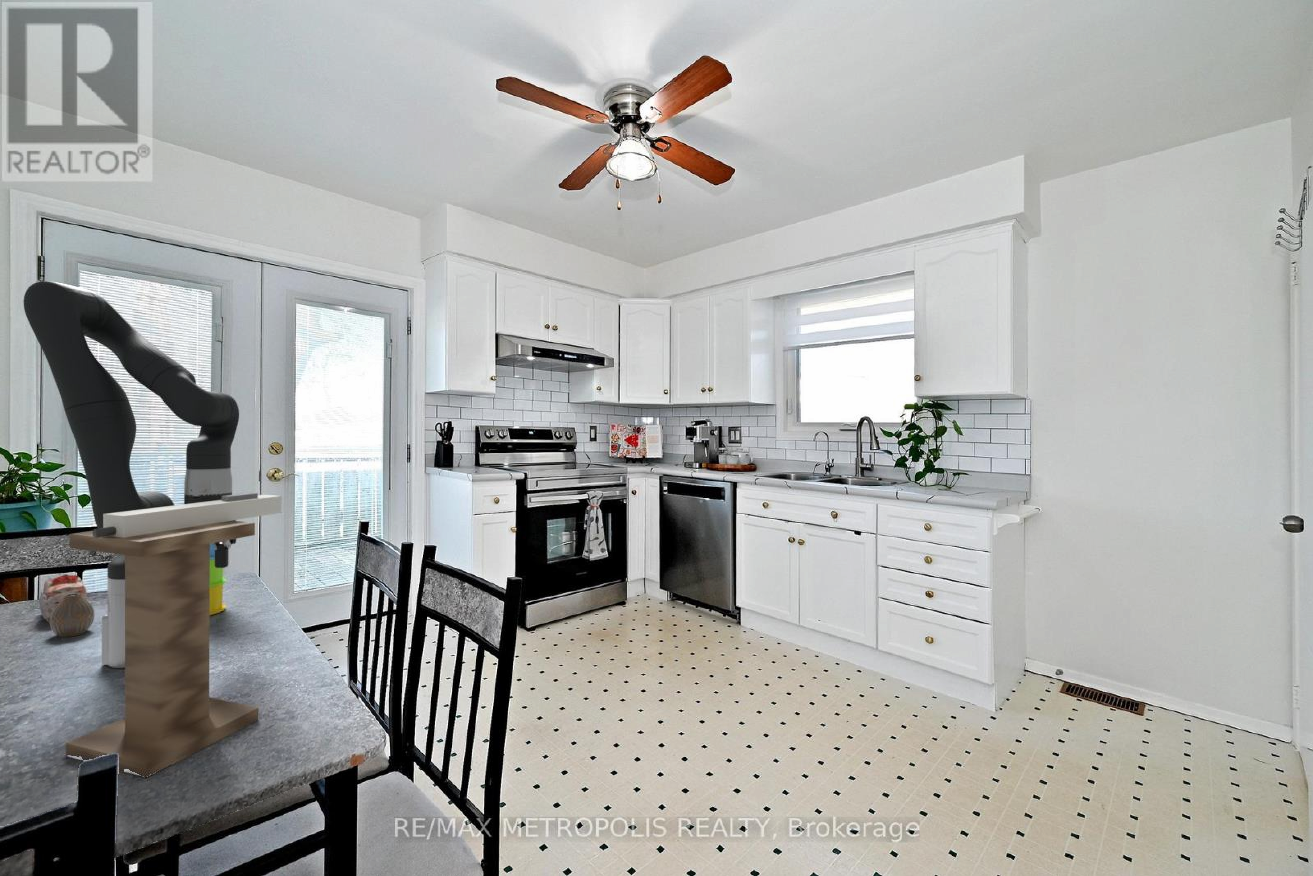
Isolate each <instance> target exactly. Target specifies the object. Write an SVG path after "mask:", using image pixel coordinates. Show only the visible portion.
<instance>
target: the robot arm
mask: <svg viewBox="0 0 1313 876" xmlns="http://www.w3.org/2000/svg"><path fill="white" fill-rule="evenodd" d="M22 303H23V310H24V313H25V317H26V318H27V321H28V323H29V326H30V329H32V332H33V334H34V336H35V337H36V340H37V342H38V344H39V346H40V348H41V350H42V352H43V355H44V356H45V359H46V361H47V363H48V366H49V369H50V371H51V374H52V377H53V379H54V382H55V384H56V385H55V386H56V388H57V390H58V392H59V393H58V394H59V395H60V398H61V402H62V406H63V409H64V413H65V416H66V419H67V422H68V424H69V427H70V430H71V432H72V435H73V438H74V440H75V445H76V447H77V450H78V453H79V457H80V460H81V463H82V467H83V470H84V474H85V477H86V481H87V486H88V493H89V497H90V502H91V508H92V509H91V510H92V513H93V517H94V522H95V525H96V527H97V529H99V528H103V514H108V513H117V512H125V511H133V510H141V509H150V508H158V507H166V506H175V503H174V501H173V500H172V499H171V498H170V497H169V496H168V495H167V494H165V493H163V492H159V491H145V492H144V491H143V492H142V491H141V492H138V491H137V489H136V486H135V484H134V481H133V477H132V472H131V468H130V467H131V466H130V463H131V456H132V452H133V448H134V445H135V441H136V435H137V423H136V418H135V415H134V411H133V408H132V406H131V403H130V400H129V397H128V395H127V393H126V392H125V390H124V389H123V387H122V385H120V383H119V382H118V381H117V380H116V379H115V378H114V377H113V375H112V374H111V373H110V372H109V371H108V370H107V369H106V368H105V367H104V366H103V365H102V364H101V362H100V361H98V359H97V358H96V357H95V355H94V354H93V352H92V350H91V348H90V347H89V344H88V343H87V339H86V337H87V338H89V339H91V340H93V341H95V342H96V343H99V344H100V345H103V346H104V347H105V348H107V349H108V350H109V351H111V352H112V353H113V354H114V355H115V356H116V357H117V359H118V360H119V362H120V364H121V365H122V367H123V369H124V370H125V371H126V372H127V373H128V374H129V375H130V376H131V377H132V378H133V380H135V381H137V382H138V383H139V384H141V385H142V386H144V387H145V388H147V389H148V390H149V391H151V392H152V393H154V395H157V396H158V397H159V398H160V399H161V400H162V401H163V403H164V404H165V405H166V407H168V409H170V410H171V412H172V413H173V414H174V415H175V416H177V418H179V419H180V420H182V421H183V422H185V423H187V424H189V425H191V426H195V427H200V430H199V433H198V435H197V436H198V437H197V438H194V439H191V440H190V441H189V442H187V445H186V449H185V450H186V453H185V454H186V456H185V457H186V459H185V460H186V461H185V462H186V463H185V475H184V482H183V483H184V485H183V486H184V489H183V491H184V492H183V493H184V494H183V495H184V496H183V503H184V504H191V503H199V502H208V501H216V500H222V496H227V495H233V476H232V467H231V466H232V465H231V464H232V462H231V461H232V460H231V459H232V453H231V451H232V450H231V448H232V445H233V442H234V439H235V435H236V432H237V429H238V424H239V419H240V409H239V405H238V403H237V401H236V400H235V398H233V397H232V396H231V395H230V394H228V393H226V392H218V391H210V390H205V389H204V388H202V387H200V386H199V385H198V384H197V380H196V377H195V376H194V374H193V373H192V372H190V371H189V370H188V369H187V368H185V367H184V366H183V365H182V364H180V363H179V362H177V361H176V360H174V358H171V357H170V356H169V355H168V354H166V353H165V352H163V351H162V350H160V349H159V348H158V347H157V346H155V345H154V344H153V343H151V341H149V340H148V339H147V338H146V337H144V336H143V335H142V334H141V333H140V332H138V330H137V329H135V327H133V326H132V325H131V324H130V323H129V321H127V320H126V319H125V318H124V317H123V316H122V315H121V314H120V313H119V312H118V311H117V310H116V309H115V308H114V306H112V305H111V304H110V303H109V302H108V300H106V299H105V298H103V297H102V296H101V295H100V294H98V293H97V292H95V291H91V290H89V289H86V288H83V287H78V286H74V285H70V284H66V283H61V282H58V281H57V282H56V281H50V280H40V281H36V282H34V283H32V284H31V285H29V286H28V287H27V289H26V291H25V293H24V295H23V302H22ZM232 521H237V520H232ZM235 544H237V539H232V540H226V541H221V542H216V543H213V545H214V547H215V548H216V549H217V550H215V567H216V568H223V569H225V568H227V567H228V566H229V549H231V547H232V545H235ZM106 570H107V571H106V572H107V577H106V578H107V614H104V615H103V616H102V617H101V666H105V665H106V666H108V667H109V668H113V669H125V555H122V554H117V555H116V556H115V557H114V558H113V559H112V560H111V561H109V563H108V564H107V569H106Z"/></svg>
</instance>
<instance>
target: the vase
mask: <svg viewBox="0 0 1313 876" xmlns="http://www.w3.org/2000/svg"><path fill="white" fill-rule="evenodd" d="M94 619H95V609H94V606H93V604H92V603H91V602H90V601H88V599H87V600H86V599H84V598H83V597H82V596H81V594H80V593H72V594H67V595H65V596H64V598H63V599H62V601H61V602H60V603H59V604H58V605H57V606H56V607H55V608H54V610H53V611H52V613H51V616H50V622H49V626H50V629H51V631H52V633H53V634H55V635H56V636H58V637H60V638H61V637H62V638H69V637H75V636H79V635H82V634H84V633H86V632H87V631H88V630H89V629H90V628H91V626H92V625H93V624H94V622H95V621H94Z"/></svg>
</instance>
